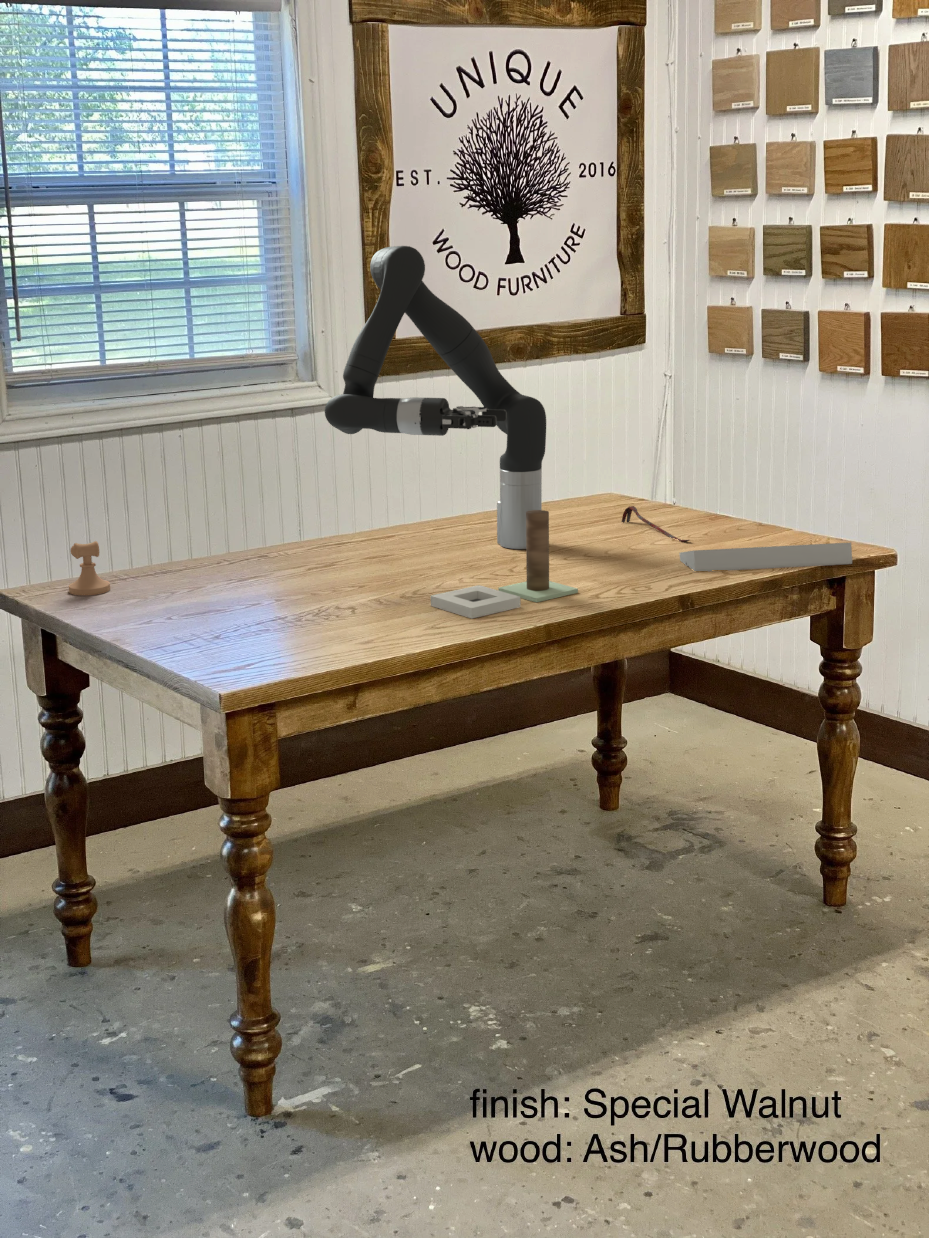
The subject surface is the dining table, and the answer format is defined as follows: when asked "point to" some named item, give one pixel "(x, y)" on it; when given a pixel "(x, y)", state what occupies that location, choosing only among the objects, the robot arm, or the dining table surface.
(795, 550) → the decorative molding
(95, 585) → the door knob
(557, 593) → the pad
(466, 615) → the hole plate
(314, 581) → the dining table surface
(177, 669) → the dining table surface
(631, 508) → the crowbar
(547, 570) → the walnut post
